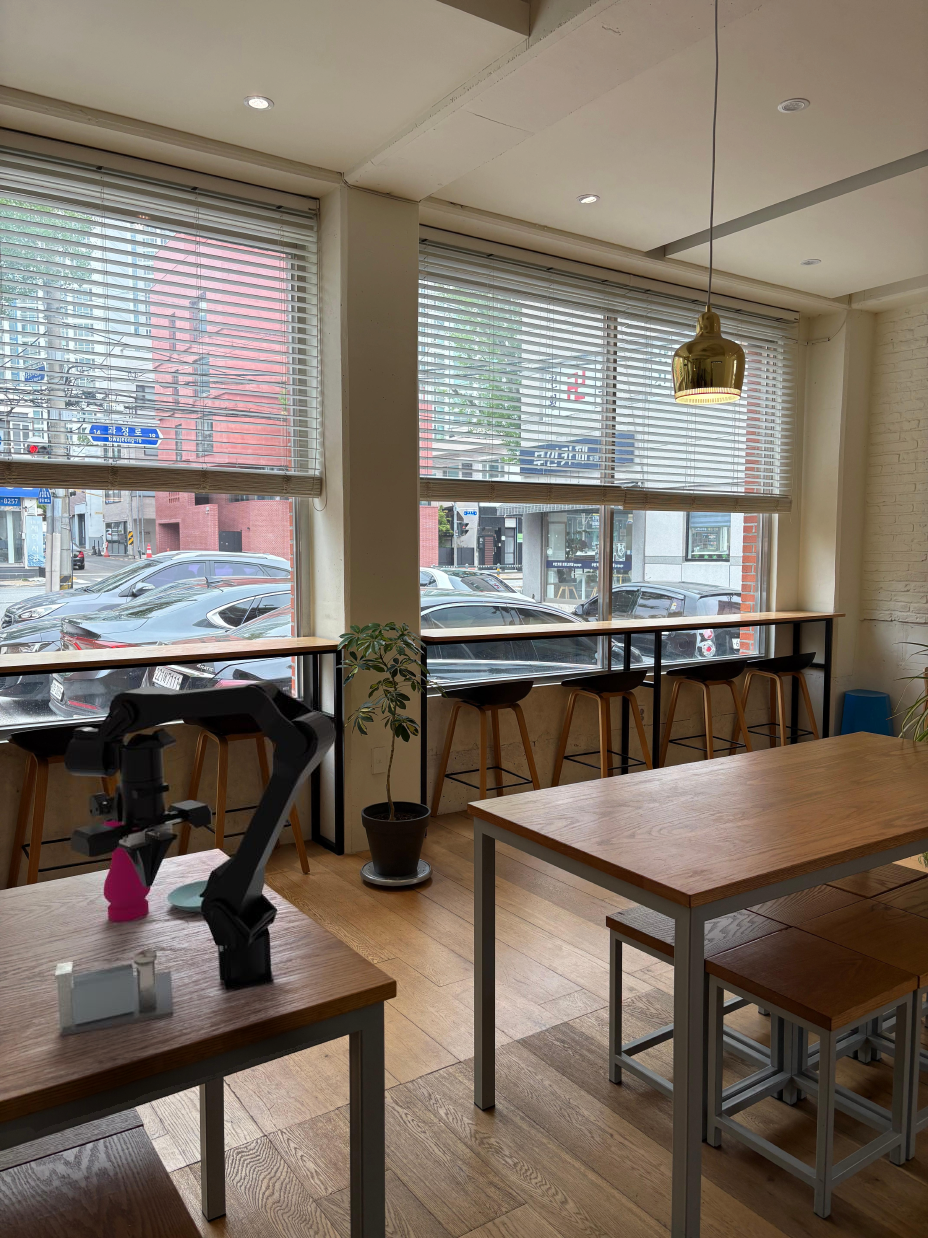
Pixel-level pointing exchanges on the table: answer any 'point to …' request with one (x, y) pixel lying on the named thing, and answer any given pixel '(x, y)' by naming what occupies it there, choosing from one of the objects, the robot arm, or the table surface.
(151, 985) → the hinge post
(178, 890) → the saucer
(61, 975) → the latch post
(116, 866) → the pepper mill
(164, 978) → the mat
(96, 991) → the gate
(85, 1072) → the table surface
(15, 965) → the table surface
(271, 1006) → the table surface
